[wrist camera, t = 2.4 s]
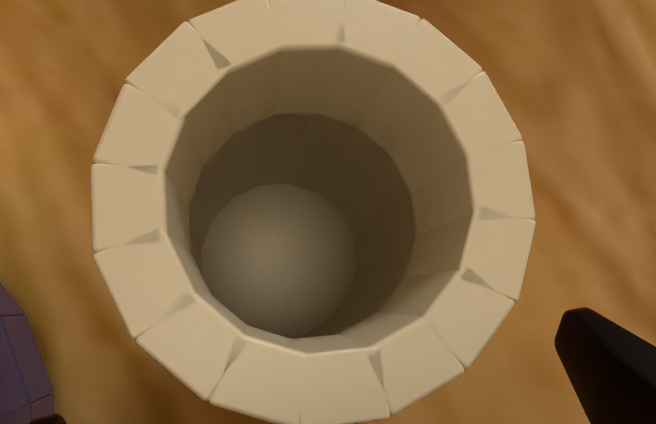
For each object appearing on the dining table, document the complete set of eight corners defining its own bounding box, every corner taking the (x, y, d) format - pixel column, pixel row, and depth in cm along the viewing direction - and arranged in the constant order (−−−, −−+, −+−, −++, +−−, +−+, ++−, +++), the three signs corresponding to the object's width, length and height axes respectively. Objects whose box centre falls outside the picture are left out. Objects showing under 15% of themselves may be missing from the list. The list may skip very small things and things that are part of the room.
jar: (370, 338, 19) (565, 397, 7) (198, 356, 19) (95, 457, 6) (353, 174, 20) (502, -14, 8) (189, 183, 19) (83, -12, 7)
